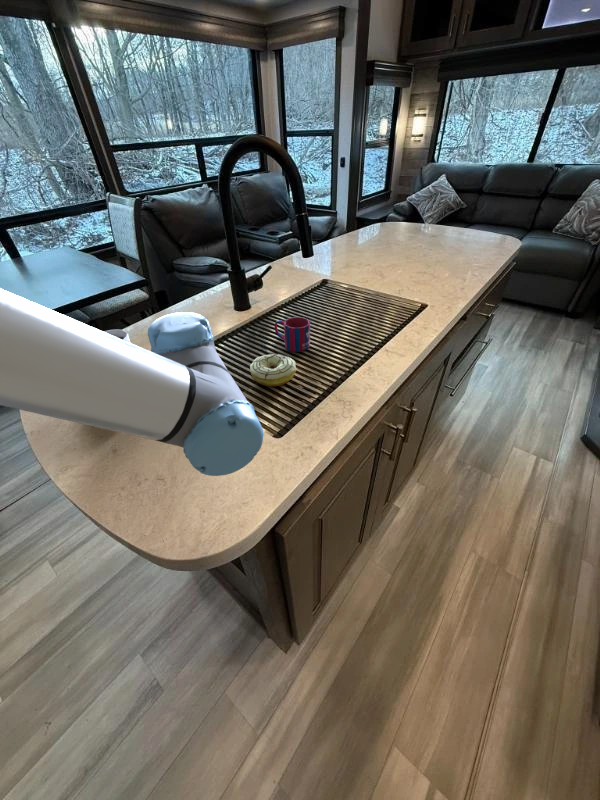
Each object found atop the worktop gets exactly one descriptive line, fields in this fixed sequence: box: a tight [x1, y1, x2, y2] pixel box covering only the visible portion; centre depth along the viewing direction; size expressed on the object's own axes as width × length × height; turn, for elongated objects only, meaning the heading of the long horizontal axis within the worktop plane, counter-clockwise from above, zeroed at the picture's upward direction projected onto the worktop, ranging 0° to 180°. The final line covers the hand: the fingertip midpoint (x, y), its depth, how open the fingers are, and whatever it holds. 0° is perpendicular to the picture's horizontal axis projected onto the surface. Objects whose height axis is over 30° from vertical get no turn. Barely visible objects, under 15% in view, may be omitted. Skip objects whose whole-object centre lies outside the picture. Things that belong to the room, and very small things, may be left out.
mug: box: [274, 316, 311, 353], centre depth 88 cm, size 7×10×7 cm
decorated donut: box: [249, 353, 297, 387], centre depth 77 cm, size 10×11×4 cm
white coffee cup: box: [103, 329, 132, 343], centre depth 68 cm, size 7×7×10 cm
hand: (123, 345), depth 67 cm, fingers open, 13 cm apart
